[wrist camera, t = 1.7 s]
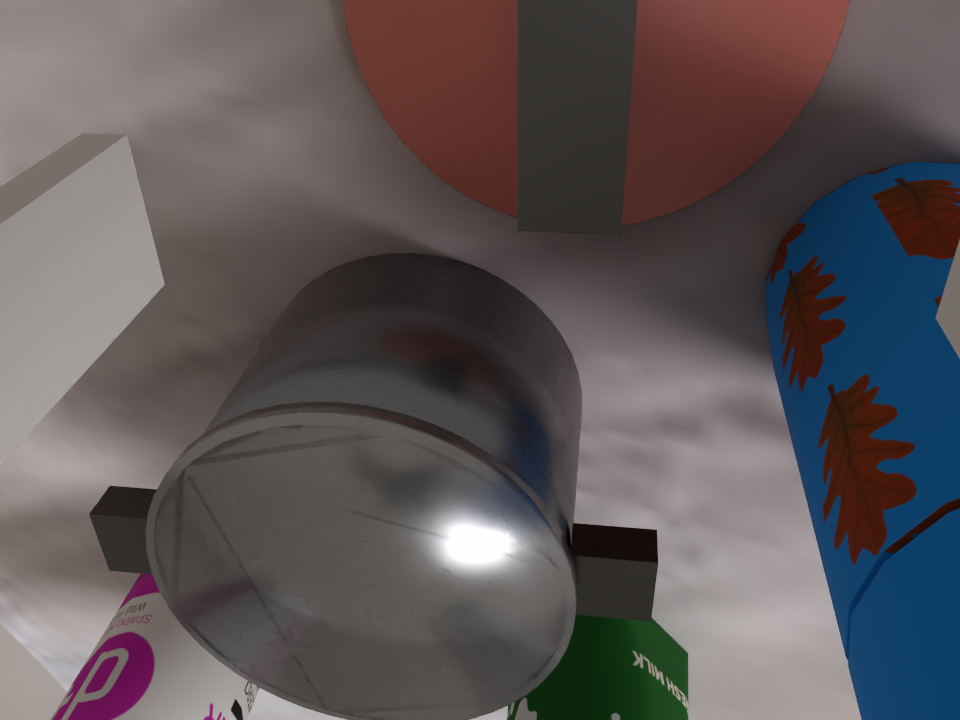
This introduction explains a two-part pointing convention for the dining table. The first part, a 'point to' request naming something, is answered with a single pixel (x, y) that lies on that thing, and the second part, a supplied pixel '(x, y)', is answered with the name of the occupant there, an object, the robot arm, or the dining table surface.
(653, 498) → the dining table surface
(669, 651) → the milk carton
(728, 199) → the dining table surface
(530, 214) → the lid
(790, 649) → the dining table surface
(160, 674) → the supplement can
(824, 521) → the thermos
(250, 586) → the pot
